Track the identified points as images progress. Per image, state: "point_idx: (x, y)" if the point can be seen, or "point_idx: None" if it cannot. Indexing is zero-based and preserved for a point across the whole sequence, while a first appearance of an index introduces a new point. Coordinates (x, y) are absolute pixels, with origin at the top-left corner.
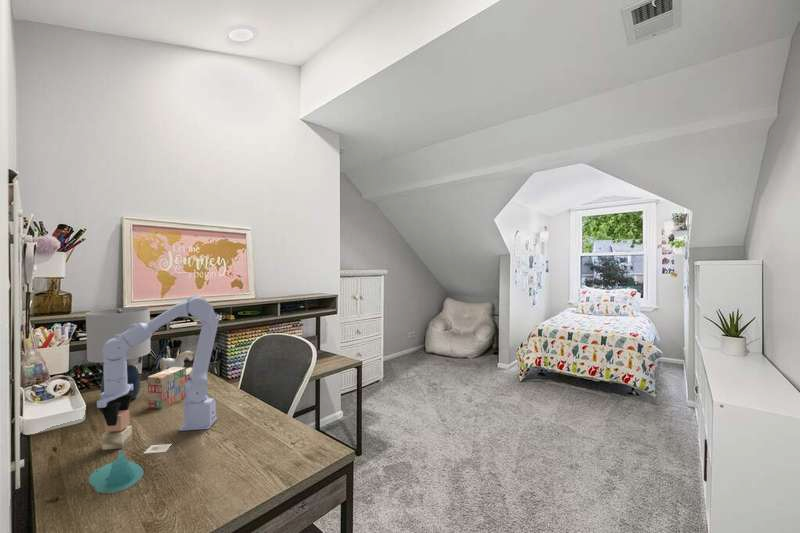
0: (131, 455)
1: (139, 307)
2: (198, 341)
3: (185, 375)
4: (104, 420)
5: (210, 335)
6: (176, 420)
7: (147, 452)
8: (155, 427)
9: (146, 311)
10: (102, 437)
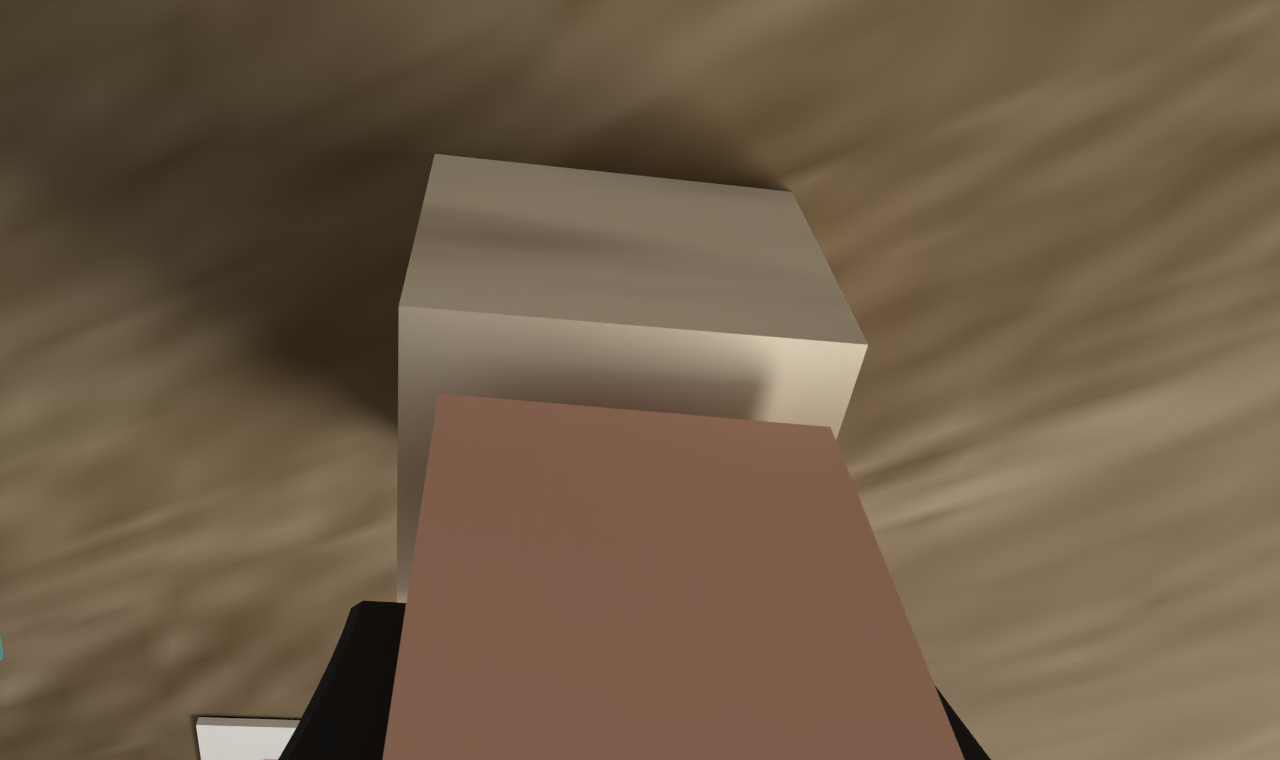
0: (164, 623)
1: None
2: None
3: None
4: (404, 644)
5: None
6: (1120, 732)
7: (211, 751)
8: (1022, 598)
9: None
10: (409, 288)
